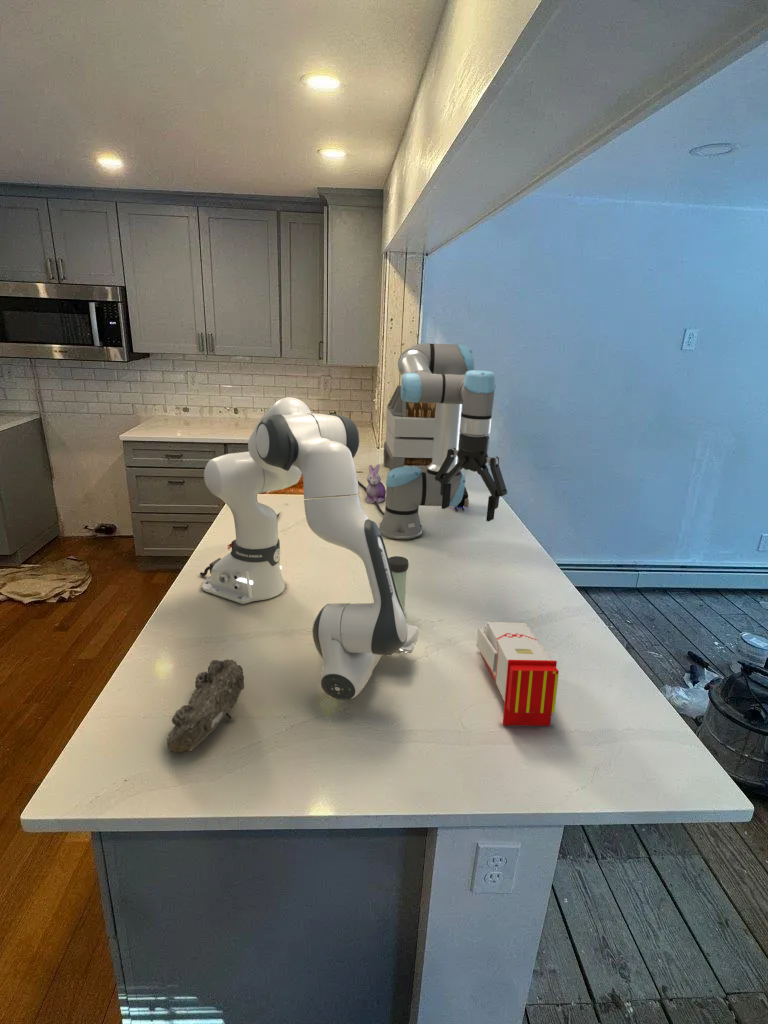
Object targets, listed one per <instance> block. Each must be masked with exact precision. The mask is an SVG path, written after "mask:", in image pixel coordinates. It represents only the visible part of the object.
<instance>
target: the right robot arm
mask: <svg viewBox="0 0 768 1024" xmlns="http://www.w3.org/2000/svg"><path fill="white" fill-rule="evenodd" d="M397 369H398V372H399V374H400V376H401V380H400V386H401V399H402V400H403V401H405V402H412V403H436V411H435V426H434V441H433V456H432V463H431V464H430V465H428V466H426V471H422V469H421V468H420V467H419V466H407V465H404V467H398V468H395V469H392V470H391V471H390V470H388V473H387V475H386V482H385V490H386V495H385V504H384V505H385V507H384V508H385V509H384V511H383V509H381V507H380V505H379V503H377V502H376V501H374V503H373V504H374V505H375V506H376V508H377V510H378V512H379V513H380V514H381V515H382V519H381V522H379V525H378V528H379V530H380V532H381V535H382V537H385V538H387V539H389V540H395V541H410V540H415V539H418V538H420V537H421V536H422V535H423V525H422V524H421V518H420V515H419V507H441V509H442V510H446V509H447V508H450V507H453V506H457V505H458V504H459V503H460V502H461V500H462V497H463V494H464V489H465V487H466V475H465V474H464V473H463V472H462V470H465V471H471V472H473V473H475V472H476V473H477V474H478V475H479V476H480V478H481V479H482V481H483V483H484V485H485V486H486V488H487V490H488V492H489V493H490V495H489V496H488V500H487V509H486V516H485V517H486V518H485V521H486V522H491V521H493V520H495V511H496V509H498V508H499V503H500V497H501V498H502V497H504V496H505V495H507V494H508V490H507V487H506V483H505V480H504V477H503V474H502V471H501V470H502V469H501V467H500V457H499V456H497V455H496V456H489V455H488V451H489V446H490V436H489V435H490V434H491V428H492V427H491V426H492V419H493V418H492V416H493V408H494V399H495V392H496V377H497V376H496V374H495V372H493V371H489V370H480V369H479V370H478V369H475V358H474V352H473V350H472V348H471V347H470V346H469V345H467V344H466V345H465V344H458V343H455V344H454V343H452V344H451V343H429V342H424V343H418V344H415V345H412V346H410V347H408V348H406V349H405V350H404V351H403V352H402V353H401V354H400V356H399V357H398V361H397ZM461 412H462V415H461ZM460 421H461V425H460ZM460 432H461V434H460V437H459V433H460ZM458 446H459V451H458ZM457 459H459V462H458V463H457ZM487 465H488V466H489V468H488V466H487ZM489 469H490V472H491V473H490V472H489ZM358 485H359V487H361V488H362V489H363V490H364V491H365V492H366V489H367V487H366V486H365V485H364V484H362V483H361V482H360V481H359V480H358Z"/></svg>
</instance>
